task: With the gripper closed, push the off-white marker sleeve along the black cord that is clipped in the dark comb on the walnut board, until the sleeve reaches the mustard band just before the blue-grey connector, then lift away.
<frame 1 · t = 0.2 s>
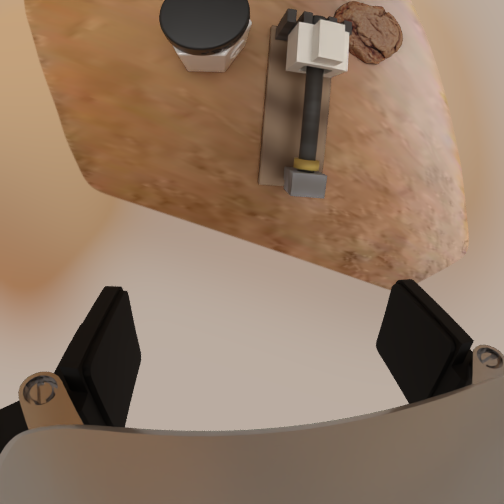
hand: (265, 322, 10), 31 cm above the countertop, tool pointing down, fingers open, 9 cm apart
comb rig: (295, 105, 36), on the countertop
jar: (209, 44, 32), on the countertop
sleeve: (319, 48, 25), point 9 cm above the countertop, slide at 0.0 cm
cookie: (365, 32, 32), on the countertop
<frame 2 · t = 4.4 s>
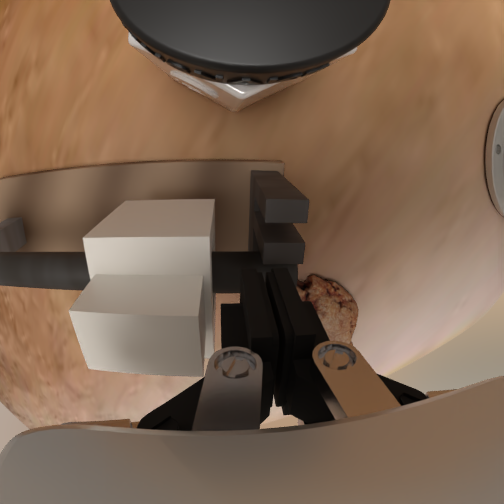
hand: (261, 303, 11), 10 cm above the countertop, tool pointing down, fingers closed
comb rig: (122, 221, 20), on the countertop
jar: (237, 46, 16), on the countertop
sleeve: (157, 285, 12), point 9 cm above the countertop, slide at 1.5 cm, touching gripper
cookie: (300, 327, 25), on the countertop
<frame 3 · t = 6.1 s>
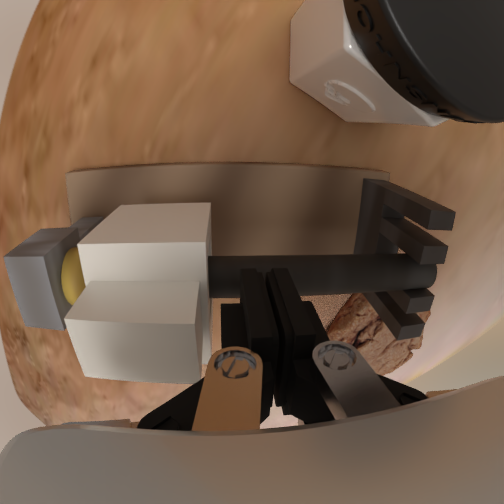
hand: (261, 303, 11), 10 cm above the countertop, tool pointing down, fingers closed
comb rig: (227, 223, 20), on the countertop
jar: (346, 59, 16), on the countertop
sleeve: (153, 291, 12), point 9 cm above the countertop, slide at 8.9 cm, touching gripper
cookie: (377, 323, 25), on the countertop
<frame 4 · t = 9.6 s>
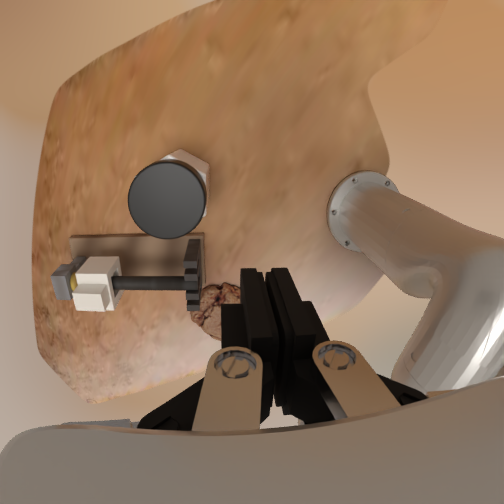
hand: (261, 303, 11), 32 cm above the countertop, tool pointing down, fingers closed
comb rig: (135, 259, 44), on the countertop
jar: (181, 180, 41), on the countertop
sleeve: (98, 287, 36), point 9 cm above the countertop, slide at 8.9 cm
cookie: (223, 309, 50), on the countertop
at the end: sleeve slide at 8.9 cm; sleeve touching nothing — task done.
